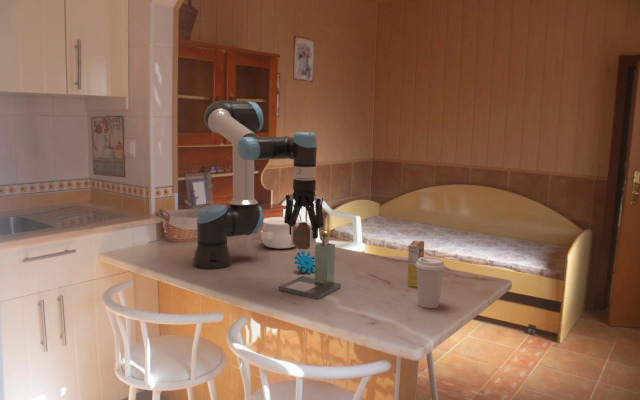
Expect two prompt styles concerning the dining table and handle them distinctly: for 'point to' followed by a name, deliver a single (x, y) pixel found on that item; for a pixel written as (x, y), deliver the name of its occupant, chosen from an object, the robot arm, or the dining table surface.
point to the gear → (305, 262)
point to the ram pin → (325, 237)
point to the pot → (276, 233)
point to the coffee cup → (429, 281)
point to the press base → (316, 276)
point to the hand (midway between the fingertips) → (303, 246)
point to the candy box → (414, 261)
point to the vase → (302, 236)
